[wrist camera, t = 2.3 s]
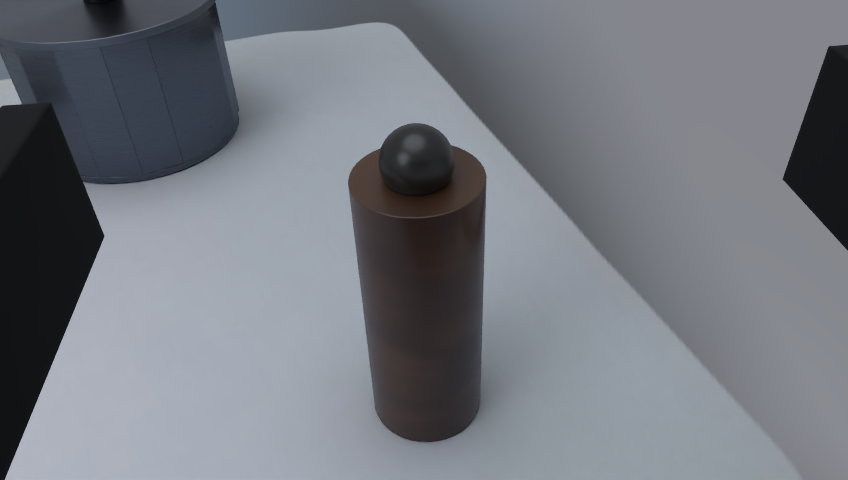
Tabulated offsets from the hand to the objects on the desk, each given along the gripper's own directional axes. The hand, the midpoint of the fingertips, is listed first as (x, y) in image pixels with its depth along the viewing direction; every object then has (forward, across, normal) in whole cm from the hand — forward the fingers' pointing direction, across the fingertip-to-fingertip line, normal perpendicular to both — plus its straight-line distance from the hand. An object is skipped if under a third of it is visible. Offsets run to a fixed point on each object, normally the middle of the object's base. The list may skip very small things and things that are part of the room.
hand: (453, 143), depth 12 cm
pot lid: (+37, -18, -10) cm, 42 cm away
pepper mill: (+10, 0, -19) cm, 21 cm away
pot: (+37, -18, -19) cm, 45 cm away
